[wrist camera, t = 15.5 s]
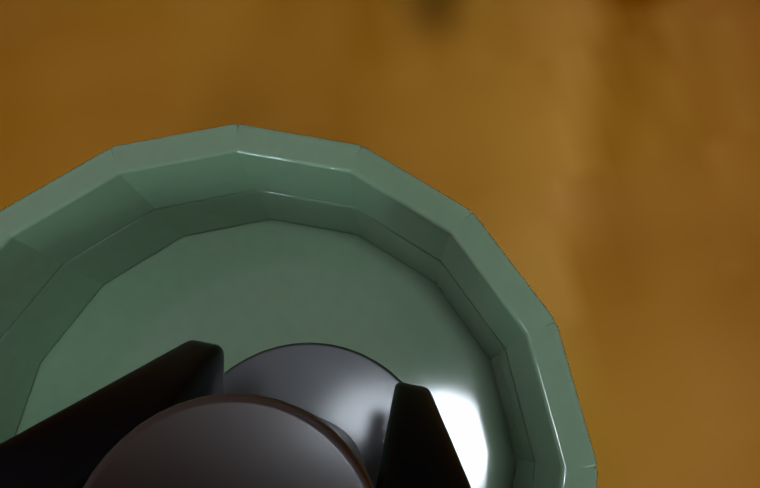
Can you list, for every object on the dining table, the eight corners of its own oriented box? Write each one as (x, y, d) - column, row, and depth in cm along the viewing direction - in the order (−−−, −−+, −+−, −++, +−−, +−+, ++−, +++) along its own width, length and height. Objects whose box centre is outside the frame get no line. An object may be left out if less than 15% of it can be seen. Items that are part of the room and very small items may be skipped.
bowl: (491, 844, 12) (546, 1061, 8) (-89, 702, 13) (-320, 830, 9) (560, 256, 16) (624, 189, 12) (97, 172, 17) (-4, 80, 12)
